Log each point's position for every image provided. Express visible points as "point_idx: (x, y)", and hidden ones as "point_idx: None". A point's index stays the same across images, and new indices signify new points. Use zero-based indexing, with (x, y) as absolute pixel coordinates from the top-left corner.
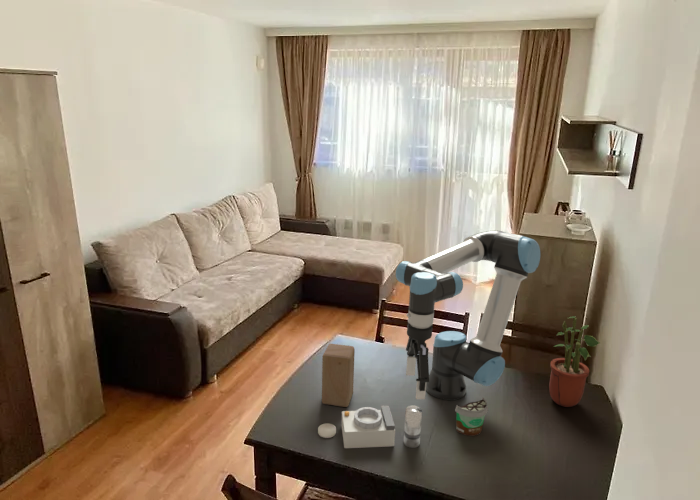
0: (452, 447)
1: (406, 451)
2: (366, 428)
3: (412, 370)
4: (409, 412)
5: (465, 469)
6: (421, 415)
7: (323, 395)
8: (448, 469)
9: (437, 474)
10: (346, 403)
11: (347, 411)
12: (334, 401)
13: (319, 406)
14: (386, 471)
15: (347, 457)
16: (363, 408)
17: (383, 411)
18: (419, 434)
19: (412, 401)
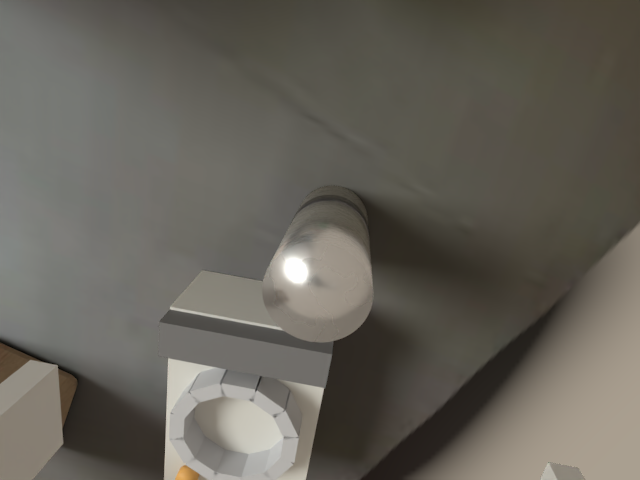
0: (417, 41)
1: (381, 261)
2: (298, 441)
3: (3, 445)
4: (334, 329)
5: (582, 51)
6: (356, 249)
7: None
8: (547, 134)
9: (554, 196)
10: (68, 394)
11: (177, 478)
12: None
13: (70, 454)
14: (462, 366)
15: (354, 450)
16: (179, 439)
17: (208, 362)
18: (361, 216)
19: (30, 92)
